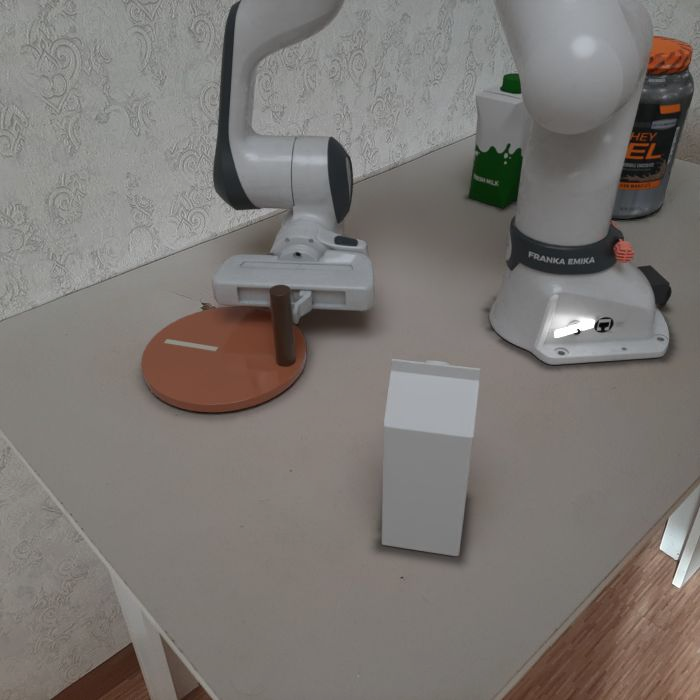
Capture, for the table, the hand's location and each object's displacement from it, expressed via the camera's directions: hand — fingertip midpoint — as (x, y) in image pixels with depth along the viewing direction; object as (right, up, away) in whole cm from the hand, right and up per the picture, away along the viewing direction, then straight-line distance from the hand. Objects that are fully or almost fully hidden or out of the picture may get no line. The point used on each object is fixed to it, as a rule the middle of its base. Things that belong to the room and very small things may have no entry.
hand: (284, 318), depth 84 cm
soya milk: (+33, +23, +42) cm, 59 cm away
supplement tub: (+53, +22, +40) cm, 70 cm away
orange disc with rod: (-8, -5, +5) cm, 11 cm away
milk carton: (+15, -20, -16) cm, 29 cm away
